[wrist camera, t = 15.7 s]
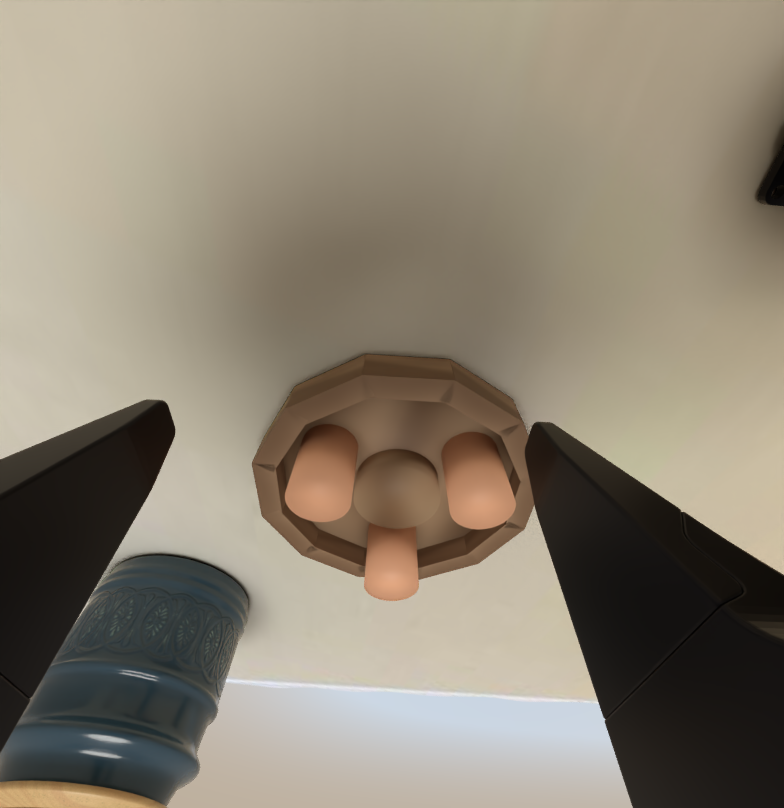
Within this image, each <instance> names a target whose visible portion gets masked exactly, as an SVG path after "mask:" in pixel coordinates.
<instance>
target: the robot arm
mask: <svg viewBox="0 0 784 808" xmlns="http://www.w3.org/2000/svg"><path fill="white" fill-rule="evenodd" d="M776 187H777V192H776V193H775V194H774V195H773V196H771V195H772V192H773V190H774V189H775V188H776ZM758 200H759V202H760V203H762V204H767V205H777V206H784V145H783V147H782V149H781V151H780V153H779V155H778V157H777V158H776V160H775V162H774V164H773V166H772V168H771V170H770V172H769V174H768V176H767V178H766V179H765V181H764V183H763V185H762V187H761V189H760V191H759V194H758ZM174 437H175V426H174V423H173V419H172V416H171V413H170V410H169V407H168V405H167V403H166V402H165V401H163V400H144V401H141V402H139V403H136V404H134V405H131V406H129V407H127V408H124V409H122V410H119V411H117V412H114V413H112V414H110V415H107V416H105V417H102V418H100V419H97V420H95V421H93V422H90V423H88V424H85V425H83V426H80V427H78V428H76V429H73V430H71V431H68V432H66V433H64V434H61V435H59V436H56V437H54V438H51V439H49V440H47V441H44V442H42V443H39V444H37V445H34V446H32V447H30V448H27V449H25V450H22V451H20V452H17V453H15V454H13V455H10V456H8V457H5V458H3V459H0V753H1V751H2V750H3V748H4V746H5V744H6V743H7V741H8V739H9V737H10V736H11V734H12V732H13V730H14V729H15V727H16V725H17V723H18V722H19V720H20V718H21V717H22V715H23V713H24V711H25V710H26V708H27V706H28V704H29V703H30V699H29V698H32V697H33V695H34V693H35V692H36V690H37V688H38V686H39V685H40V683H41V681H42V679H43V678H44V676H45V674H46V672H47V671H48V669H49V667H50V666H51V664H52V662H53V660H54V659H55V657H56V655H57V653H58V652H59V650H60V648H61V646H62V645H63V643H64V641H65V639H66V638H67V636H68V634H69V633H70V631H71V629H72V627H73V626H74V624H75V622H76V620H77V618H78V617H79V615H80V613H81V612H82V610H83V608H84V606H85V605H86V603H87V601H88V599H89V598H90V596H91V594H92V593H93V591H94V589H95V587H96V586H97V584H98V582H99V580H100V579H101V577H102V575H103V573H104V572H105V570H106V568H107V566H108V565H109V563H110V561H111V560H112V558H113V556H114V554H115V553H116V551H117V549H118V547H119V546H120V544H121V542H122V540H123V539H124V537H125V535H126V533H127V532H128V530H129V528H130V526H131V525H132V523H133V521H134V520H135V518H136V516H137V514H138V513H139V511H140V509H141V507H142V506H143V504H144V502H145V500H146V499H147V497H148V495H149V493H150V491H151V489H152V487H153V485H154V483H155V481H156V479H157V476H158V474H159V472H160V469H161V467H162V465H163V462H164V460H165V458H166V456H167V453H168V451H169V449H170V446H171V444H172V442H173V439H174ZM525 460H526V465H527V470H528V475H529V480H530V485H531V490H532V495H533V500H534V505H535V509H536V512H537V516H538V519H539V522H540V525H541V528H542V531H543V534H544V537H545V540H546V543H547V547H548V550H549V553H550V556H551V559H552V562H553V565H554V568H555V571H556V574H557V577H558V580H559V583H560V586H561V589H562V592H563V595H564V598H565V601H566V604H567V607H568V611H569V614H570V617H571V620H572V623H573V626H574V629H575V632H576V635H577V638H578V641H579V644H580V647H581V650H582V653H583V656H584V659H585V662H586V665H587V668H588V672H589V675H590V678H591V681H592V684H593V687H594V690H595V693H596V696H597V699H598V702H599V705H600V708H601V711H602V714H603V717H604V718H605V719H606V720H605V724H606V727H607V730H608V733H609V736H610V739H611V742H612V746H613V748H614V751H615V755H616V758H617V761H618V764H619V767H620V770H621V773H622V776H623V779H624V782H625V785H626V788H627V791H628V794H629V797H630V800H631V803H632V806H633V808H784V575H783V574H781V573H780V572H778V571H776V570H775V569H773V568H771V567H770V566H768V565H767V564H765V563H763V562H762V561H760V560H758V559H757V558H755V557H753V556H752V555H750V554H749V553H747V552H745V551H744V550H742V549H740V548H739V547H737V546H736V545H734V544H732V543H731V542H729V541H727V540H726V539H724V538H723V537H721V536H720V535H718V534H717V533H715V532H714V531H712V530H711V529H709V528H708V527H706V526H705V525H703V524H701V523H700V522H698V521H697V520H696V519H694V518H693V517H691V516H690V515H688V514H687V513H685V512H681V510H680V509H679V508H678V507H676V506H675V505H673V504H672V503H670V502H669V501H667V500H666V499H664V498H663V497H661V496H660V495H658V494H657V493H655V492H654V491H652V490H651V489H650V488H648V487H647V486H645V485H644V484H642V483H641V482H639V481H638V480H636V479H635V478H633V477H632V476H630V475H629V474H627V473H626V472H624V471H623V470H621V469H620V468H618V467H617V466H615V465H614V464H612V463H611V462H609V461H608V460H606V459H605V458H603V457H602V456H601V455H599V454H598V453H596V452H595V451H593V450H592V449H590V448H589V447H587V446H586V445H584V444H583V443H581V442H580V441H578V440H577V439H575V438H574V437H572V436H571V435H569V434H568V433H566V432H565V431H563V430H562V429H560V428H559V427H557V426H556V425H555V424H553V423H550V422H536V423H534V424H533V426H532V428H531V431H530V434H529V437H528V440H527V443H526V446H525Z"/></svg>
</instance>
